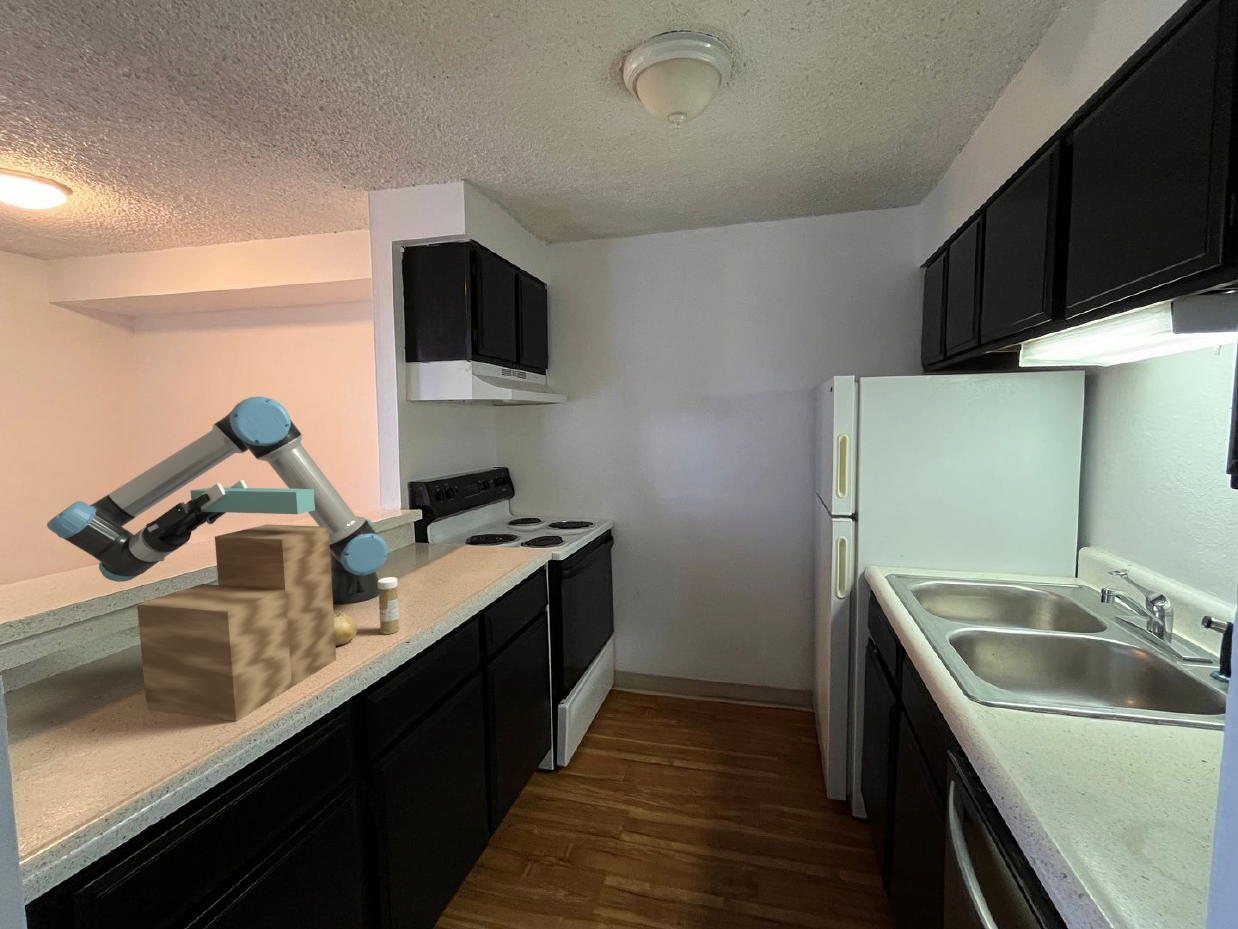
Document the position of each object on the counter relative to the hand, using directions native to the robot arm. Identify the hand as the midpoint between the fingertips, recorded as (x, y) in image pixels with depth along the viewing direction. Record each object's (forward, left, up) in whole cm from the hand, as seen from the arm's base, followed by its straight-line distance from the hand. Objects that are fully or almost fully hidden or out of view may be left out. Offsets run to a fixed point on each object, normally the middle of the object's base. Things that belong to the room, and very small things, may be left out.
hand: (233, 487), depth 109 cm
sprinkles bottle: (-22, +19, -39) cm, 49 cm away
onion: (-14, +11, -39) cm, 43 cm away
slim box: (0, +5, -5) cm, 7 cm away
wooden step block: (+6, +7, -39) cm, 40 cm away
